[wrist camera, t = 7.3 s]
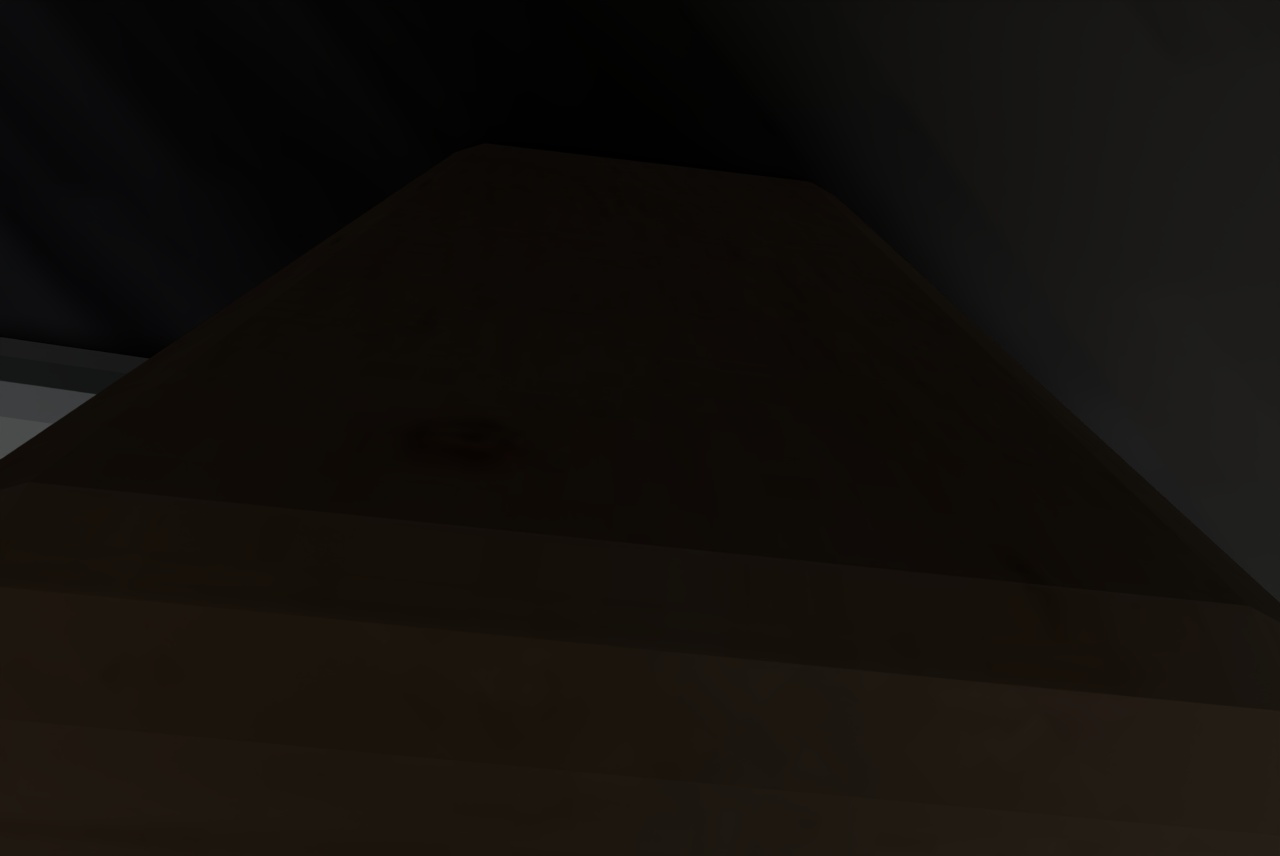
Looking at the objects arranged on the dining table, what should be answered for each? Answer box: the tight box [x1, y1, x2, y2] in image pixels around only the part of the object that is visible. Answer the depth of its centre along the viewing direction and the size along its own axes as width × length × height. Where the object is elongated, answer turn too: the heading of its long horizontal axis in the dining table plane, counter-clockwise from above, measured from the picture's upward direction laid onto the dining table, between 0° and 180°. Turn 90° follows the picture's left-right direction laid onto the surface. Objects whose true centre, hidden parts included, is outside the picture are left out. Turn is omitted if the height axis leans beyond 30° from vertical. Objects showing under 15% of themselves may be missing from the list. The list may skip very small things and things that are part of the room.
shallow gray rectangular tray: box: [0, 337, 149, 459], centre depth 27 cm, size 15×17×3 cm
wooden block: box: [0, 143, 1280, 856], centre depth 16 cm, size 10×10×20 cm
